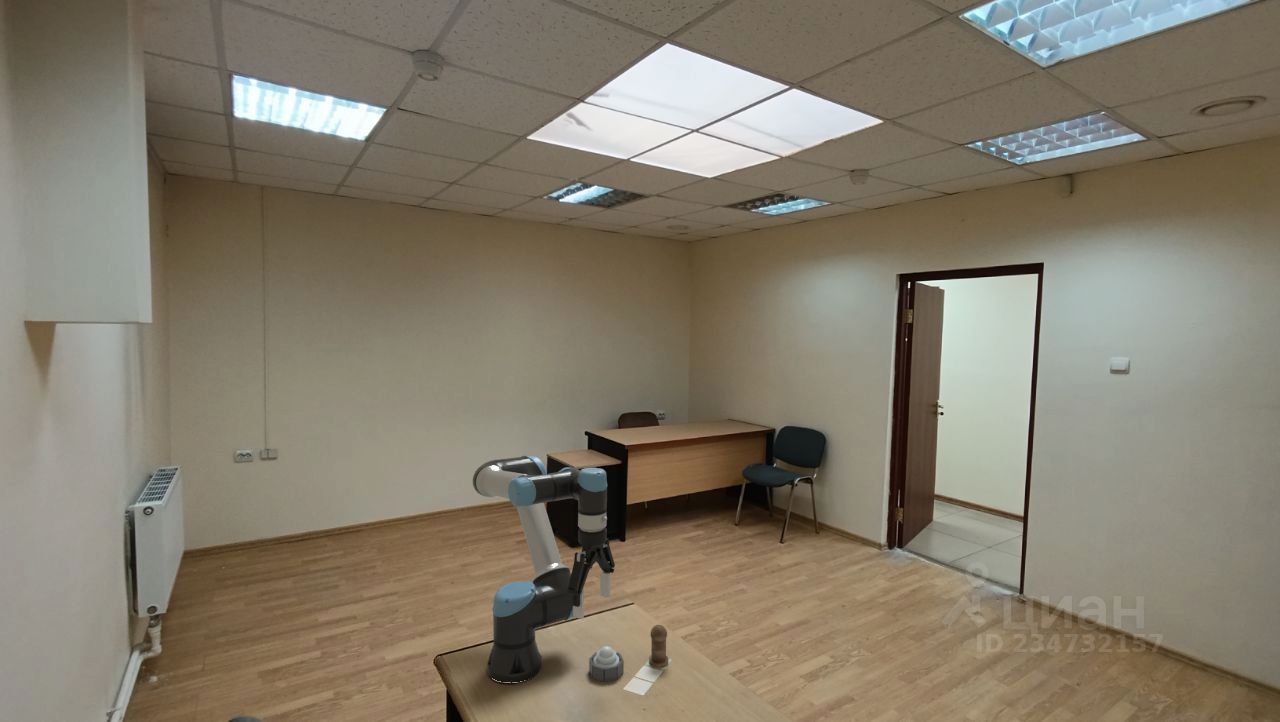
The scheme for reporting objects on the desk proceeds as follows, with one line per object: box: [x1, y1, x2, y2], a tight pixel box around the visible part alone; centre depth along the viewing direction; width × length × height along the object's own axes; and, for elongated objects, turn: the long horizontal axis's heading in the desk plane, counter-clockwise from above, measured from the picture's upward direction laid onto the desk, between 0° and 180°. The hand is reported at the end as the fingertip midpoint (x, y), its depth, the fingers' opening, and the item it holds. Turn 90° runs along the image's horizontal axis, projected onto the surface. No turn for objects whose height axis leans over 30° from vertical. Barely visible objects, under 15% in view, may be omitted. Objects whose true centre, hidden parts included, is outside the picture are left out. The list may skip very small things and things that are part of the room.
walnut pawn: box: [648, 624, 669, 669], centre depth 165 cm, size 6×6×11 cm
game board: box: [622, 657, 673, 696], centre depth 159 cm, size 9×20×1 cm, turn 153°
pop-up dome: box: [594, 645, 619, 668], centre depth 160 cm, size 7×7×6 cm
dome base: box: [588, 651, 625, 683], centre depth 160 cm, size 9×9×4 cm
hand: (592, 606), depth 153 cm, fingers open, 13 cm apart
